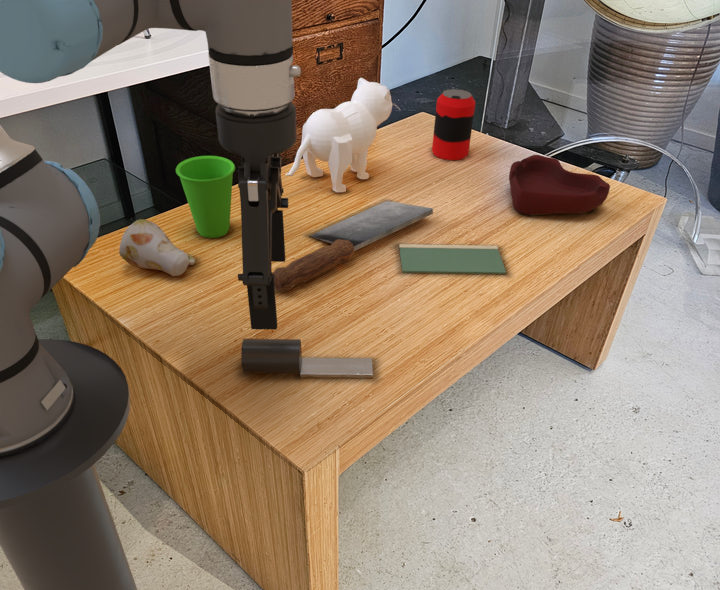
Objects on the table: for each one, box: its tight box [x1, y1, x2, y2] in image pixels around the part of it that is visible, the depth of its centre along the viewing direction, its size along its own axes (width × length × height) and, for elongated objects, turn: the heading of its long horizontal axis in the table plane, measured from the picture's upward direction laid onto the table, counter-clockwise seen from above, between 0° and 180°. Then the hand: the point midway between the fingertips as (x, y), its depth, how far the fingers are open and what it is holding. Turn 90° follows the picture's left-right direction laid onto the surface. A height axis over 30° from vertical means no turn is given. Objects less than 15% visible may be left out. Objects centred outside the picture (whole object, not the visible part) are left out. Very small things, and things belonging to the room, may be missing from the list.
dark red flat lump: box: [508, 154, 611, 217], centre depth 119 cm, size 18×16×5 cm
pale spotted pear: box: [118, 218, 196, 277], centre depth 98 cm, size 8×10×10 cm
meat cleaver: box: [272, 200, 434, 292], centre depth 106 cm, size 34×11×4 cm, turn 136°
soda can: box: [431, 88, 476, 161], centre depth 133 cm, size 8×8×12 cm
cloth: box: [398, 243, 507, 275], centre depth 104 cm, size 16×8×1 cm, turn 91°
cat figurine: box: [284, 77, 400, 193], centre depth 120 cm, size 25×10×17 cm, turn 131°
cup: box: [175, 155, 236, 239], centre depth 105 cm, size 9×9×11 cm
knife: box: [240, 338, 374, 379], centre depth 82 cm, size 16×4×4 cm, turn 91°
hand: (269, 291), depth 75 cm, fingers open, 13 cm apart
